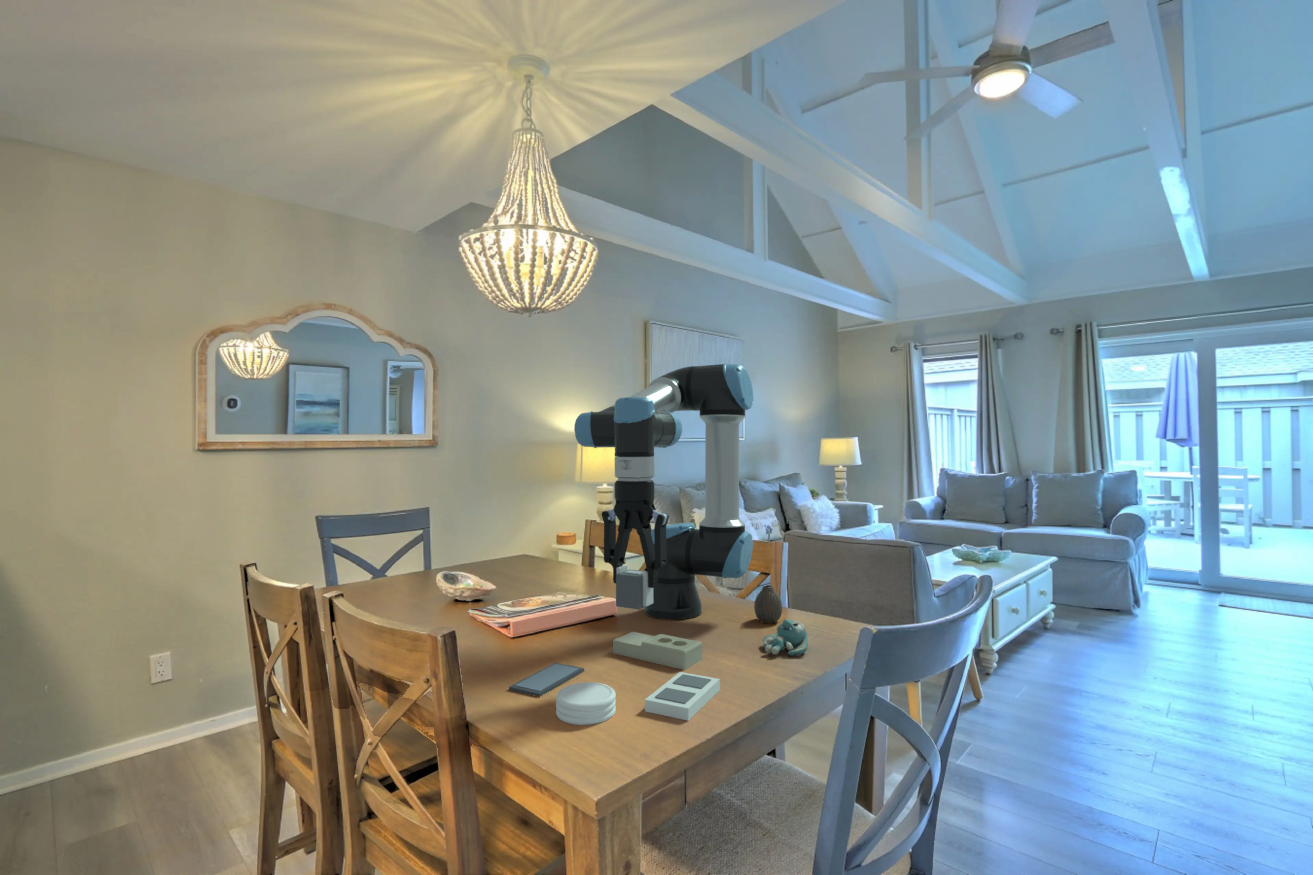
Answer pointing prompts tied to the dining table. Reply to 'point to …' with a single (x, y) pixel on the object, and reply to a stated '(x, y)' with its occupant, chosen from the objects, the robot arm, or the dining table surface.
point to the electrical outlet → (659, 649)
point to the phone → (546, 679)
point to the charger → (629, 589)
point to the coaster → (585, 703)
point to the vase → (768, 605)
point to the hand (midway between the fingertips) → (634, 602)
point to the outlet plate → (682, 696)
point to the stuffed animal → (787, 639)
